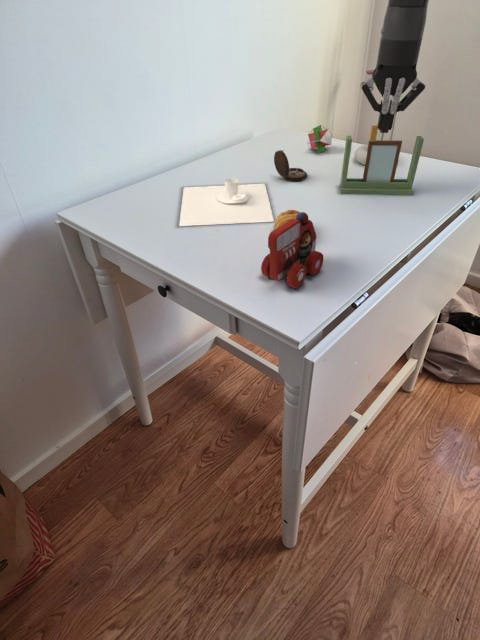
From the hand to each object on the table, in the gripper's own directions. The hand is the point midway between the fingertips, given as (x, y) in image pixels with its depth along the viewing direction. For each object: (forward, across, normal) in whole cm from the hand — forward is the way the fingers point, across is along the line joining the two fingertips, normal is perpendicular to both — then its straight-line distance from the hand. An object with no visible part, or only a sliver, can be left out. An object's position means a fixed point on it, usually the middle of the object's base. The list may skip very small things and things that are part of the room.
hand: (383, 131), depth 91 cm
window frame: (+13, 0, 0) cm, 13 cm away
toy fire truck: (+13, -19, -36) cm, 43 cm away
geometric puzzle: (+13, -12, +27) cm, 32 cm away
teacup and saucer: (+13, -34, -8) cm, 37 cm away
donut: (+13, +2, +19) cm, 23 cm away
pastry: (+13, -19, -22) cm, 32 cm away
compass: (+13, -20, +8) cm, 25 cm away
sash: (+12, +1, 0) cm, 12 cm away
